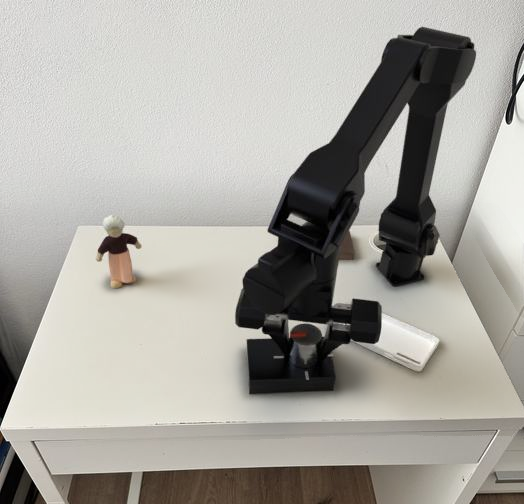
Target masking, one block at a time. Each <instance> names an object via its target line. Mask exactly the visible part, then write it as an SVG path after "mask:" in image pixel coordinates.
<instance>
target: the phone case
mask: <svg viewBox="0 0 524 504" xmlns="http://www.w3.org/2000/svg"><path fill="white" fill-rule="evenodd" d="M351 342H353V343H355V344H357V345H359V346H361V347H364V348H366V349H368V350H370V351H371V352H373V353H376V354H379V355H381V356H383V357H385V358H387V359H389V360H391V361H393V362H395V363H398V364H400V365H402V366H404V367H406V368H408V369H410V370H412V371H415V372H422V371H423V370H424V368H425V366H426V365H427V363H428V362H429V360H430V359H431V357H432V356H433V354H434V353H435V351H436V349H437V348H438V346H439V344H440V339H439V337H437V336H436V335H433V334H431V333H429V332H427V331H425V330H422V329H419V328H417V327H415V326H413V325H411V324H408V323H406V322H404V321H401V320H399V319H397V318H395V317H393V316H390V315H388V314H385V313H384V312H382V327H381V334H380V338H379V342H377V343H375V344H369V343H361V342H354V341H353V340H352V339H351Z"/></svg>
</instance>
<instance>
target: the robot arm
mask: <svg viewBox="0 0 524 504" xmlns="http://www.w3.org/2000/svg"><path fill="white" fill-rule="evenodd" d="M476 58H477V51H476V49H475V43H474V42H472V39H471V37H470V36H466V35H462V34H457V33H453V32H447V31H445V30H444V31H443V30H438V29H435V28H431V27H426V26H420V27H418V29H416V31H414V33H413V34H398V35H397V36H396V37H393V38H390V39H389V40H388V42H386V44H385V47H384V49H383V51H382V55H381V58H380V59H381V60H380V63H379V65H378V66H377V68H376V70H375V71H374V72H373V74H372V76H371V77H370V79H369V81H368V82H367V83H366V85H365V87H364V88H363V90H362V92H361V93H360V95H359V97H358V98H357V99H356V101H355V103H354V104H353V105H352V107H351V109H350V110H349V112H348V113H347V115H346V117H345V118H344V120H343V122H342V123H341V125H340V127H339V128H338V129H337V130H336V133H335V134H334V136H332V138H331V139H330V141H329V142H328V143H326V144H324V145H322V146H320V147H318V148H317V149H314V150H313V151H311V152H310V153H308V155H306V157H305V158H304V160H303V161H302V162H301V164H300V165H299V166H298V167H297V168H296V169H295V171H294V172H293V173H292V174H291V175H290V177H289V178H288V180H287V182H286V184H285V187H284V189H283V191H282V194H281V196H280V198H279V201H278V203H277V206H276V208H275V210H274V214H273V215H272V218H271V220H270V223H269V225H268V227H267V233H268V234H270V235H273V236H275V237H277V246H275V247H273V248H272V249H271V250H269V251H267V252H265V253H264V254H262V255H261V256H259V257H258V259H257V263H255V264H254V265H253V266H251V267H250V268H249V269H248V270H247V271H246V272H245V273H244V276H243V277H242V280H241V281H242V288H241V289H240V292H239V293H240V294H239V297H238V299H237V303H236V307H235V313H234V321H235V322H234V323H235V325H236V326H237V327H238V328H241V329H242V328H243V329H250V330H260V329H261V333H262V334H263V335H267V336H269V337H270V338H272V339H273V340H274V341H275V343H276V344H277V345H278V347H279V348H280V350H281V351H282V353H283V355H284V356H285V358H288V355H289V338H290V330H289V329H290V328H289V321H293V322H302V323H309V324H317V325H318V324H319V325H327V327H326V329H325V333H324V335H323V337H324V339H323V342H322V346H321V349H320V356H319V362H322V361H323V360H324V359H325V358H326V357H327V356H328V355H329V354H330V353H331V354H332V353H333V351H335V350H337V348H339V347H341V346H342V345H349V344H351V342H353V341H354V342H353V343H355V342H361V343H369V344H375V343H377V342H379V338H380V334H381V327H382V313H383V308H382V307H383V306H382V305H381V303H380V302H379V301H378V300H372V299H371V300H369V299H361V298H351V302H350V304H349V303H344V302H343V303H341V302H336V303H335V304H334V305H333V301H334V296H335V295H334V294H335V288H336V282H337V275H338V267H339V261H340V260H339V256H340V249H341V244H342V242H343V241H344V239H345V237H346V235H347V233H348V231H350V229H351V227H352V226H353V224H354V222H355V220H356V218H357V217H358V214H359V213H360V206H361V201H362V199H363V197H364V195H365V192H366V185H365V182H366V181H365V178H366V177H365V176H366V175H365V173H366V171H367V169H368V168H369V166H370V164H371V162H372V160H373V159H374V157H375V156H376V154H377V153H378V151H379V150H380V148H381V147H382V145H383V143H384V141H385V140H386V139H387V137H388V135H389V133H390V132H391V130H392V129H393V127H394V125H395V123H396V122H397V120H398V119H399V118H400V116H401V114H402V112H403V111H404V109H405V108H406V106H407V105H408V114H407V119H406V126H405V133H404V139H403V146H402V152H401V153H402V154H401V161H400V167H399V173H398V179H397V187H396V193H395V198H393V199H392V201H391V202H389V204H388V205H387V206H386V207H385V208H384V209H383V211H382V212H381V213H380V218H379V222H378V241H379V242H383V243H385V247H384V250H382V252H381V257H380V261H379V262H376V263H375V267H376V269H377V270H378V271H379V272H380V273H381V275H382V276H383V277H384V278H385V279H386V281H387V282H388V283H389V284H390V285H391V286H392V287H398V286H403V285H407V284H412V283H415V282H419V281H423V280H425V277H426V276H425V274H424V273H423V272H422V271H421V269H422V266H423V262H424V260H425V258H426V257H431V256H434V255H435V252H436V247H437V245H438V243H439V238H440V236H441V233H440V232H439V230H438V228H437V226H436V225H435V222H436V214H437V210H436V209H437V208H436V207H435V205H434V203H433V200H432V198H431V197H430V192H431V191H430V190H431V187H432V186H431V185H432V181H433V176H434V172H435V167H436V162H437V157H438V151H439V147H440V143H441V136H442V133H443V128H444V123H445V120H446V119H445V118H446V114H447V109H448V105H449V103H450V102H451V101H452V100H453V98H454V97H455V96H456V95H457V94H458V93H459V92H460V91H461V90H462V88H463V87H464V86H465V85H466V82H467V80H468V78H469V77H470V75H471V73H472V71H473V68H474V66H475V63H476ZM290 216H294V217H296V218H298V219H301V220H303V221H305V222H304V223H303V224H301V225H300V224H298V223H296V222H294V221H292V220H289V217H290ZM351 339H352V340H353V341H351Z"/></svg>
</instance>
